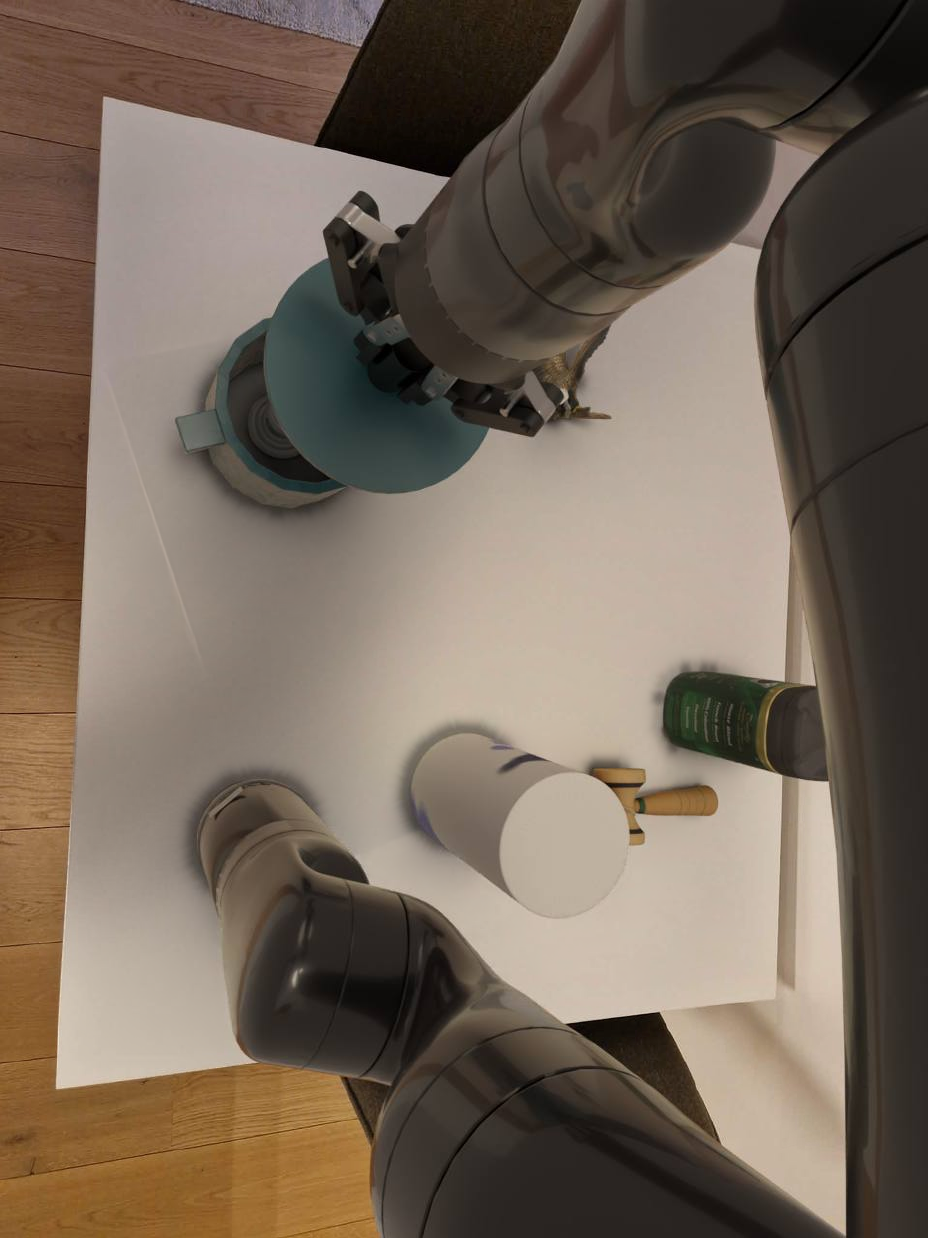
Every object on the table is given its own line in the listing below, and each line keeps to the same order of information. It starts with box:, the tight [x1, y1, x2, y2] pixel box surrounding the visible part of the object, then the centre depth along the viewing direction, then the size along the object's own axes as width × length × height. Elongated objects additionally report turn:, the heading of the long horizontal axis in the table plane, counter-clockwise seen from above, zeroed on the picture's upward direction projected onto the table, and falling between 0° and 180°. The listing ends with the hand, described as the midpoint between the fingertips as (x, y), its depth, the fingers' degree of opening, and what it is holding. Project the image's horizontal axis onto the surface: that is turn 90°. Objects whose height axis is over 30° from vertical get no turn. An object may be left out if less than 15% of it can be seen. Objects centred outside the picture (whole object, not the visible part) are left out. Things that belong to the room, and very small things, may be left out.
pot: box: [174, 316, 349, 509], centre depth 67 cm, size 13×18×10 cm
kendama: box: [592, 767, 719, 847], centre depth 82 cm, size 8×6×18 cm
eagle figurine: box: [533, 324, 613, 421], centre depth 79 cm, size 8×7×9 cm
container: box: [410, 732, 630, 920], centre depth 69 cm, size 10×10×20 cm
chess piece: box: [246, 393, 301, 459], centre depth 68 cm, size 5×5×9 cm
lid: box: [263, 257, 491, 495], centre depth 48 cm, size 14×14×6 cm
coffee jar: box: [663, 671, 829, 783], centre depth 79 cm, size 10×8×19 cm
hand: (391, 368), depth 49 cm, fingers closed on lid, 2 cm apart
